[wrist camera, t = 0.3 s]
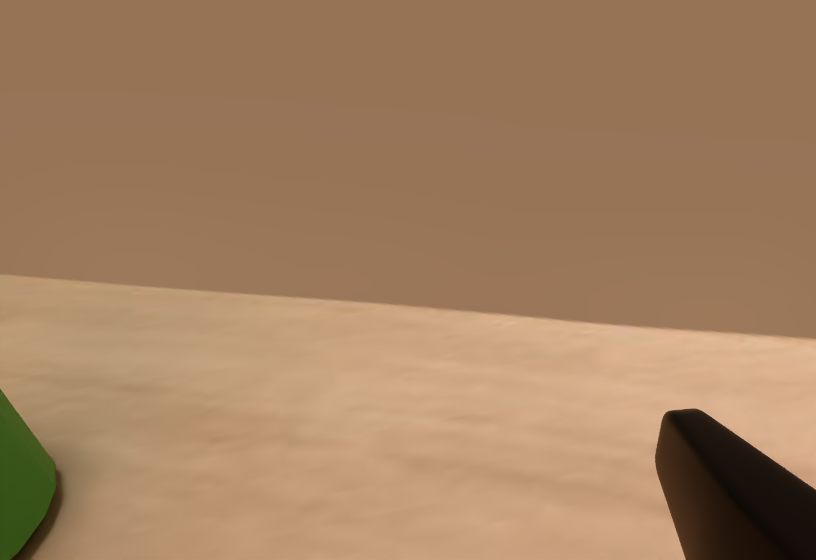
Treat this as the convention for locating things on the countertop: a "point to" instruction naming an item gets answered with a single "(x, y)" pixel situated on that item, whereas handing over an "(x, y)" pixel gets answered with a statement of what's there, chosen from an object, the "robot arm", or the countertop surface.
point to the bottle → (21, 481)
